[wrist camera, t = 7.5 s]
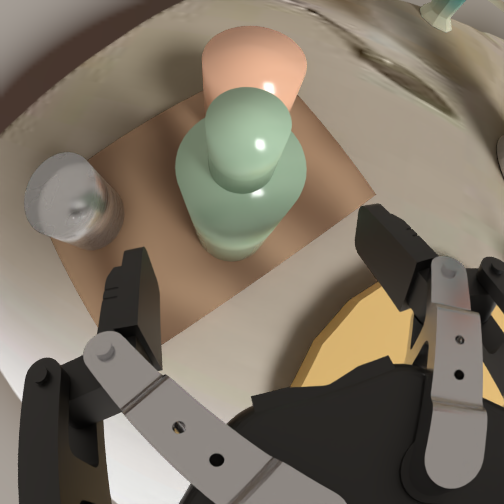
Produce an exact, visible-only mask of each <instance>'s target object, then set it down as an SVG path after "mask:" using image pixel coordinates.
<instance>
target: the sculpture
mask: <svg viewBox="0 0 504 504" xmlns="http://www.w3.org/2000/svg"><path fill="white" fill-rule="evenodd" d="M465 1H466V0H432V2H430V3H427V4H424V5H423V6H422V7H421V8H420V12H421V16H422V17H423V18H424V19H425V20H426V21H427V22H428V23H429V24H430V25H432V26H433V27H435V28H437V29H439V30H442V31H444V32H446V33H447V32H449V31H451V30H452V29H451V20H450V18H451V16H452V15H453V14H454V13H455V12H456V10H458V9H459V7H460V6H461V5H462V4H463V3H464V2H465Z"/></svg>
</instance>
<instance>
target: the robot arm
mask: <svg viewBox="0 0 504 504" xmlns="http://www.w3.org/2000/svg"><path fill="white" fill-rule="evenodd" d="M497 155H498V161H499V164H500V168H501V171H502V173H503V176H504V135H503V136H501V137H500V138H499V140H498V143H497ZM355 247H356V250H357V253H358V254H359V256H360V257H361V258H362V260H363V261H364V263H365V264H366V265H367V267H368V268H369V269H370V271H371V272H372V273H373V275H374V276H375V278H376V279H377V280H378V282H379V283H380V285H381V286H382V287H383V289H384V290H385V292H386V293H387V294H388V296H389V297H390V299H391V300H392V302H393V303H394V305H395V306H396V307H397V309H398V310H399V312H402V311H405V310H408V309H410V308H411V309H412V311H413V313H412V316H411V320H410V329H409V337H408V345H407V352H406V357H405V361H404V364H393V363H392V361H391V359H390V357H389V355H387V356H385V357H382V358H379V359H377V360H374V361H371V362H368V363H365V364H363V365H360V366H358V367H356V368H355V369H353V370H351V371H350V372H348V373H347V374H345V375H344V376H342V377H340V378H339V379H337V380H336V381H334V382H332V383H331V384H328V385H324V386H307V387H287V388H283V389H279V390H275V391H271V392H267V393H263V394H259V395H254V396H251V399H252V404H253V406H251V407H249V408H247V409H245V410H243V411H242V412H240V413H239V414H237V415H236V416H235V417H234V418H232V419H231V420H230V421H229V422H228V423H227V424H225V423H224V422H223V421H221V420H220V419H219V418H218V417H216V416H215V415H214V414H213V413H211V412H210V411H209V410H208V409H206V408H205V407H204V406H203V405H202V404H200V403H199V402H198V401H197V400H196V399H194V398H193V397H192V396H191V395H190V394H189V393H187V392H186V391H185V390H184V389H183V388H182V387H181V386H179V385H178V384H177V383H176V382H175V381H174V380H173V379H171V378H170V377H169V376H167V375H164V376H163V375H162V374H160V373H159V372H158V371H160V370H163V369H162V351H161V324H160V291H159V285H158V281H157V278H156V275H155V272H154V270H153V267H152V264H151V261H150V258H149V255H148V252H147V250H146V248H145V247H139V248H134V249H130V250H125V251H124V253H123V259H122V266H118V267H113V269H112V270H111V272H110V273H109V275H108V276H107V278H106V282H105V288H104V290H105V291H104V293H103V301H102V305H101V311H100V318H99V324H98V332H97V335H96V336H94V337H93V338H92V339H90V341H89V342H88V343H87V345H86V346H85V349H84V352H83V355H82V356H80V357H78V358H76V359H74V360H72V361H70V362H67V363H65V364H63V365H60V364H59V363H58V362H57V361H56V360H54V359H52V358H42V359H40V360H38V361H36V362H35V363H34V364H33V365H32V366H31V367H30V368H29V370H28V372H27V374H26V378H25V384H24V391H23V399H22V408H21V418H20V430H19V449H18V489H19V504H112V503H111V496H110V489H109V481H108V473H107V464H106V453H105V441H104V425H103V420H104V419H107V418H109V417H111V416H114V415H116V414H118V413H120V412H122V413H123V414H124V415H125V417H126V418H127V419H128V420H129V421H130V422H131V424H132V425H133V426H134V427H135V428H136V429H137V430H138V431H139V432H140V434H141V435H142V436H143V437H144V438H145V439H146V440H147V441H148V442H149V443H150V444H151V445H152V446H153V447H154V448H155V449H156V450H157V451H158V452H159V453H160V454H161V455H162V456H163V457H164V458H165V459H166V460H167V461H168V462H169V463H170V464H171V465H172V466H173V467H174V468H175V469H176V470H177V471H178V472H179V473H180V474H181V475H183V476H184V477H185V478H186V479H187V480H188V481H189V482H190V483H191V484H190V486H189V487H188V489H187V491H186V492H185V494H184V496H183V498H182V499H181V501H180V503H179V504H504V405H503V406H500V405H498V404H496V403H494V402H492V401H490V400H487V399H485V398H483V363H484V365H485V366H486V368H487V370H488V371H489V373H490V375H491V377H492V378H493V380H494V382H495V384H496V386H497V387H498V389H499V391H500V393H501V395H502V397H503V399H504V332H503V331H502V329H501V328H500V326H499V325H498V324H497V322H496V321H495V319H494V318H493V316H492V315H491V314H492V312H493V310H494V308H495V307H496V305H497V306H498V307H499V308H500V310H501V311H502V312H503V314H504V262H502V261H501V260H499V259H497V258H494V257H485V258H484V259H483V260H482V262H481V264H480V266H479V268H465V267H464V266H463V265H462V264H461V263H460V262H459V261H457V260H456V259H454V258H451V257H448V256H438V255H437V254H436V253H435V252H434V251H433V250H432V249H431V248H430V247H429V246H428V245H427V243H426V242H425V241H424V240H423V239H422V238H421V237H420V236H417V233H416V232H415V231H414V230H413V229H411V227H410V226H409V225H408V224H407V223H406V222H405V221H404V220H402V219H400V218H399V217H397V216H395V215H393V214H390V213H389V212H388V211H387V210H386V209H385V208H384V207H383V206H382V205H381V204H372V205H366V206H361V207H360V209H359V212H358V220H357V227H356V235H355Z"/></svg>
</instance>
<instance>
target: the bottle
mask: <svg viewBox="0 0 504 504" xmlns="http://www.w3.org/2000/svg"><path fill="white" fill-rule="evenodd" d="M291 129H292V120H291V116H290V113H289V111H288V109H287V107H286V106H285V104H284V103H283V102H282V101H281V100H280V99H279V98H278V97H276V96H275V95H273V94H272V93H270V92H268V91H265V90H263V89H259V88H254V87H239V88H234V89H230V90H228V91H226V92H224V93H222V94H220V95H219V96H218V97H216V98H215V99H214V100H213V101H212V103H211V104H210V106H209V107H208V109H207V112H206V116H205V118H204V119H202V120H200V121H199V122H198V123H197V124H195V125H194V126H193V127H192V128H191V129H190V130H189V131H188V133H187V134H186V135H185V137H184V138H183V140H182V142H181V144H180V146H179V149H178V151H177V156H176V163H175V170H176V178H177V182H178V185H179V188H180V191H181V193H182V196H183V199H184V201H185V204H186V207H187V209H188V212H189V214H190V217H191V220H192V222H193V225H194V227H195V230H196V233H197V235H198V238H199V240H200V243H201V244H202V246H203V247H204V249H205V250H206V251H207V252H208V253H209V254H211V255H212V256H213V257H215V258H217V259H220V260H223V261H229V262H234V261H240V260H243V259H246V258H248V257H250V256H251V255H253V254H254V253H255V252H256V251H257V250H258V249H259V248H260V246H261V245H262V244H263V243H264V241H265V240H266V239H267V238H268V236H269V235H270V234H271V233H272V231H273V230H274V229H275V227H276V226H277V225H278V224H279V222H280V221H281V220H282V219H283V217H284V216H285V215H286V214H287V212H288V211H289V210H290V209H291V207H292V206H293V205H294V203H295V202H296V201H297V199H298V198H299V196H300V194H301V192H302V190H303V187H304V184H305V180H306V171H307V168H306V159H305V155H304V152H303V149H302V146H301V144H300V143H299V141H298V139H297V138H296V136H295V135H294V133H293V132H292V131H291Z"/></svg>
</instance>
